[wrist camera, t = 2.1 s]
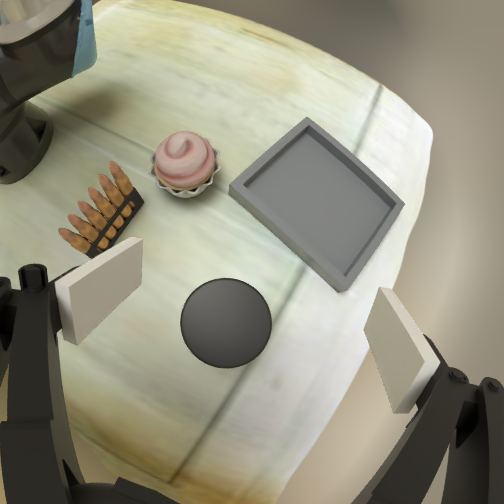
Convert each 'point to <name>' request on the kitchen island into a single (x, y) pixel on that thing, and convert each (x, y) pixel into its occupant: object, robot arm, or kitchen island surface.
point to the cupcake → (184, 164)
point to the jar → (225, 323)
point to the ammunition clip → (104, 214)
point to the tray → (319, 202)
